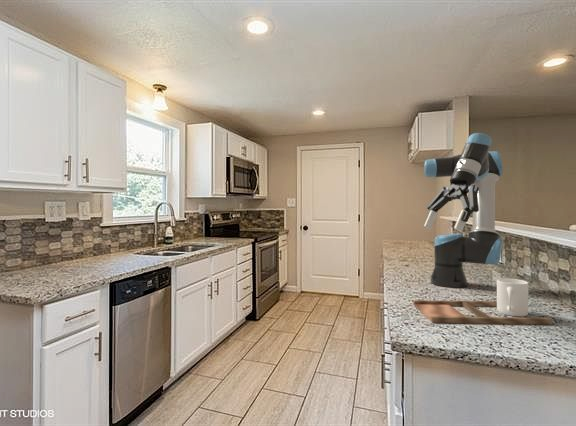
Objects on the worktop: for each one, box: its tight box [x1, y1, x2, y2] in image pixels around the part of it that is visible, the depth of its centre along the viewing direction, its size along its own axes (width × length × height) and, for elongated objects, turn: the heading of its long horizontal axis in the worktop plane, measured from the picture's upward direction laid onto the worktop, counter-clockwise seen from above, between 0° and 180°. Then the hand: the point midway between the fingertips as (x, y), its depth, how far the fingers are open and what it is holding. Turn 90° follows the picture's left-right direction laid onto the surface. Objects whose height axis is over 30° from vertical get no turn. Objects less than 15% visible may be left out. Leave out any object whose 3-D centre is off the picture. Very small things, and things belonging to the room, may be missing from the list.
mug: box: [496, 278, 529, 317], centre depth 104 cm, size 9×12×11 cm
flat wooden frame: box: [412, 299, 553, 325], centre depth 105 cm, size 35×18×2 cm, turn 85°
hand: (441, 229), depth 107 cm, fingers open, 13 cm apart
